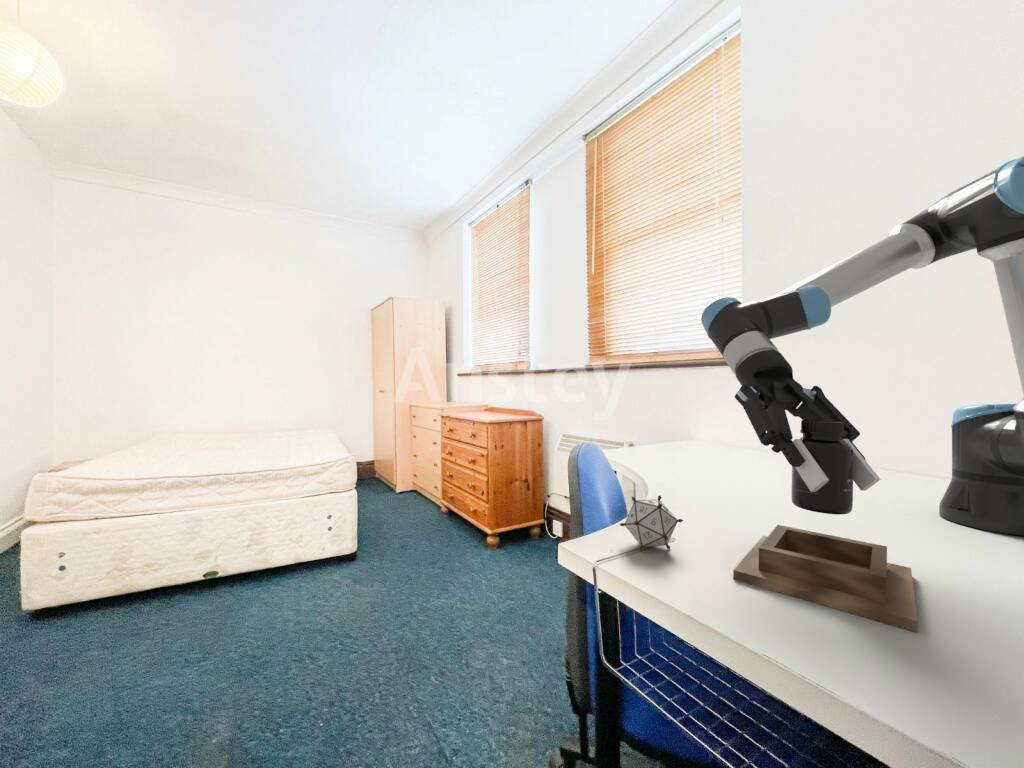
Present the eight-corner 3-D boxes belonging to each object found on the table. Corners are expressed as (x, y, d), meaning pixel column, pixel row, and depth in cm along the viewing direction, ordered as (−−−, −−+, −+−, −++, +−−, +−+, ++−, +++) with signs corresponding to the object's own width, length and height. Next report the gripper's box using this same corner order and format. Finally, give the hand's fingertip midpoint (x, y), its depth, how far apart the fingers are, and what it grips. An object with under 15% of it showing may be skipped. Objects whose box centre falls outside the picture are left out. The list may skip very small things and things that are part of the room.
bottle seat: (910, 576, 58) (911, 546, 58) (917, 632, 45) (917, 593, 45) (762, 542, 71) (763, 517, 71) (733, 578, 57) (733, 547, 57)
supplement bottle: (864, 517, 54) (866, 424, 54) (805, 513, 55) (806, 422, 55) (835, 502, 61) (836, 419, 61) (782, 499, 62) (783, 418, 62)
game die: (638, 570, 68) (600, 517, 70) (663, 540, 73) (627, 491, 75) (678, 561, 61) (635, 502, 63) (703, 528, 66) (663, 474, 68)
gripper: (796, 381, 74) (889, 498, 58) (693, 379, 72) (761, 502, 56) (823, 349, 69) (933, 468, 53) (713, 346, 66) (794, 470, 50)
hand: (845, 485), depth 54 cm, fingers closed on supplement bottle, 7 cm apart
